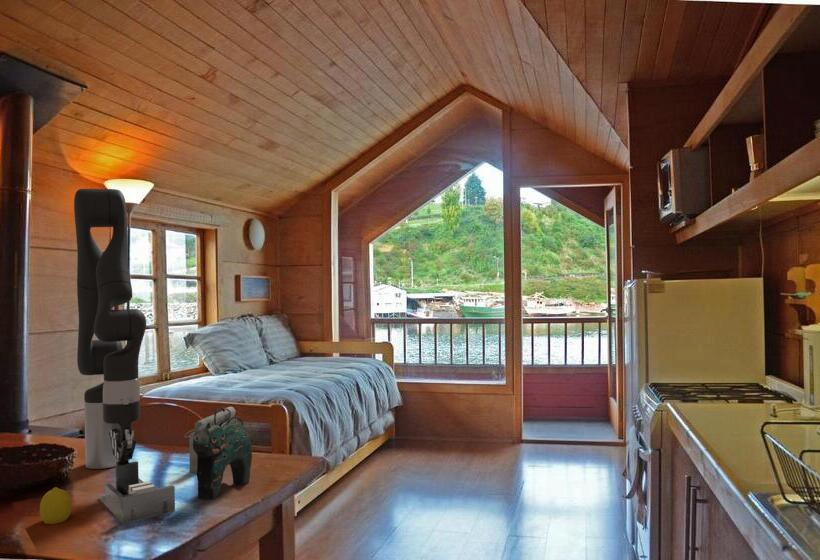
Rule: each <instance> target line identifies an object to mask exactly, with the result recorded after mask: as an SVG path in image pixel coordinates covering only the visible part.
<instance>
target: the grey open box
mask: <svg viewBox="0 0 820 560" xmlns="http://www.w3.org/2000/svg"><path fill="white" fill-rule="evenodd" d="M144 482H145V481H143V480H142V479H141V478H139V483H144ZM175 487H176V486H174V485H173V484H171V485H167V486H163V487H158V488H155V489H152V490H148V491H143V492H138V493H134V494H129V495H124V496H123V495H122V494H121V493H120V492H119V491H118V490H117V489H116V487H114V485H112V484H111V483H109V482H108V483H105V484H104V495H103V496H97V498H98V499H99V501H101V503H102V504H103V505H104V506H105V507H106V508H107V509H108V510H109V511H110V512H111V513H112V514H113V515H114V516H115V518H116V519H118V521H120V522H121V524H122V525H124V524H127V523H128V524H129V523H132V522H136V521H140V520H143V519H149V518H154V517H156V516H161V515H165V514H169V513H173V512H174V513H175V512H176V503H175V502H176V497H175V496H176V494H175V493H176V492H175V490H176V488H175Z"/></svg>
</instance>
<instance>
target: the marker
mask: <svg viewBox="0 0 820 560" xmlns="http://www.w3.org/2000/svg"><path fill="white" fill-rule="evenodd" d="M143 482H144V483H139V484H134V485H129V494H134V493H138V492H143V491H148V490H152V489H156V488H155V485H154V484H153V483H152V482H151V481H143Z"/></svg>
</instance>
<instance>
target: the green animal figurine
mask: <svg viewBox="0 0 820 560" xmlns="http://www.w3.org/2000/svg"><path fill="white" fill-rule="evenodd" d="M220 410H221V411H222V410H223V412H225V407H223V406H221V407H217V408H216V410H215V411H214V413H213V415H214V423H215V425H210V423H208V424H207V425H202V426H200V427H199V428H198V429H197V430H195V431H194V432H195V433H194V432H193V433H194V437H193V449H194V451H195V452H196V454H197V472H196V477H197V478H196V479H197V497H198V499H200V500H212V501H213V500H215V499H216V498H218V497H220V495H221V487H222V481H223V477H224V472H225V470H226V468H227V467H228V465H229V466H230V470H231V473H232V474H231V476H232V484H233V485H241V486H242V485H246V484H248V483H249V482H250V477H251V467H252V458H253V449H252V446H253V445H252V441H251V438H250V433H249V432H248V429H247V427H246V426H244V421H243V418H241V417H240V416H234V417H232V418H230V419H229V420H228V421H227V422H226V423H224V422H221V423H219V424H217V425H216V414H217V413H219V412H218V411H220ZM232 419H237V420H239V421H240V423H238V422H237V423H229V422H230V421H231V420H232ZM223 423H224V424H223Z"/></svg>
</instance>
